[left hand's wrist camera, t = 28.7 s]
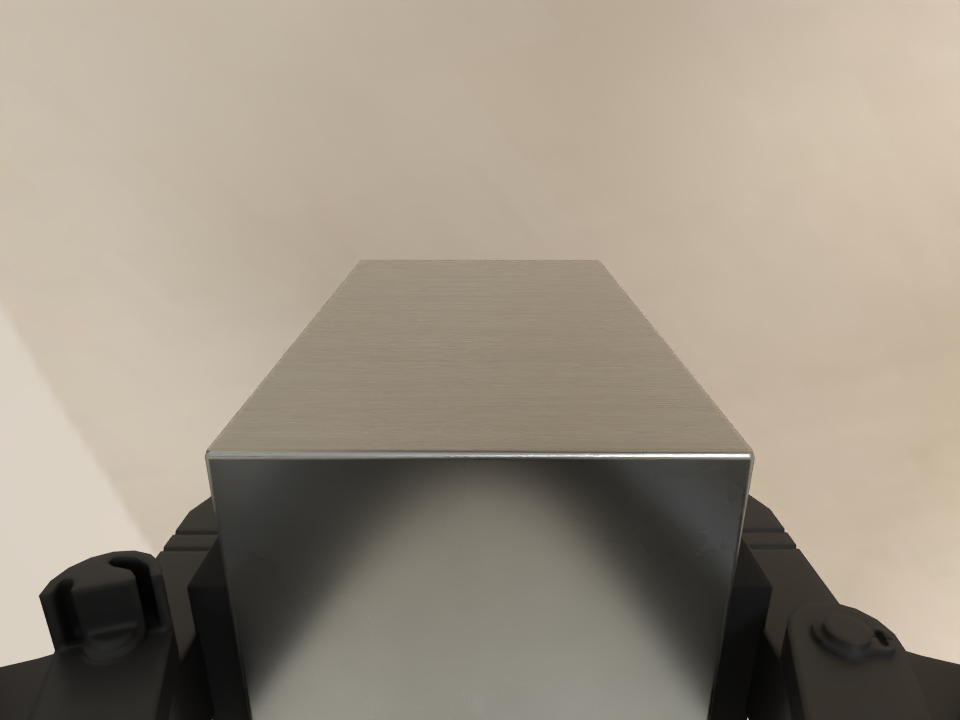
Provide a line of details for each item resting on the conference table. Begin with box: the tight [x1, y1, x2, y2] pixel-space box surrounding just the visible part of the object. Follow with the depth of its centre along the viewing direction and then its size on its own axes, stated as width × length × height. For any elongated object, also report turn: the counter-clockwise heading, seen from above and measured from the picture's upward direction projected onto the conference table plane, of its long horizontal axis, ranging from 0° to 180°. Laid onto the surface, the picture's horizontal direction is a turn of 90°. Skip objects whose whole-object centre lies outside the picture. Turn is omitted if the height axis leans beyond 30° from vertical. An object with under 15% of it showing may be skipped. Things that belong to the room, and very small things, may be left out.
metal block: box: [205, 260, 754, 720], centre depth 12 cm, size 7×6×9 cm
